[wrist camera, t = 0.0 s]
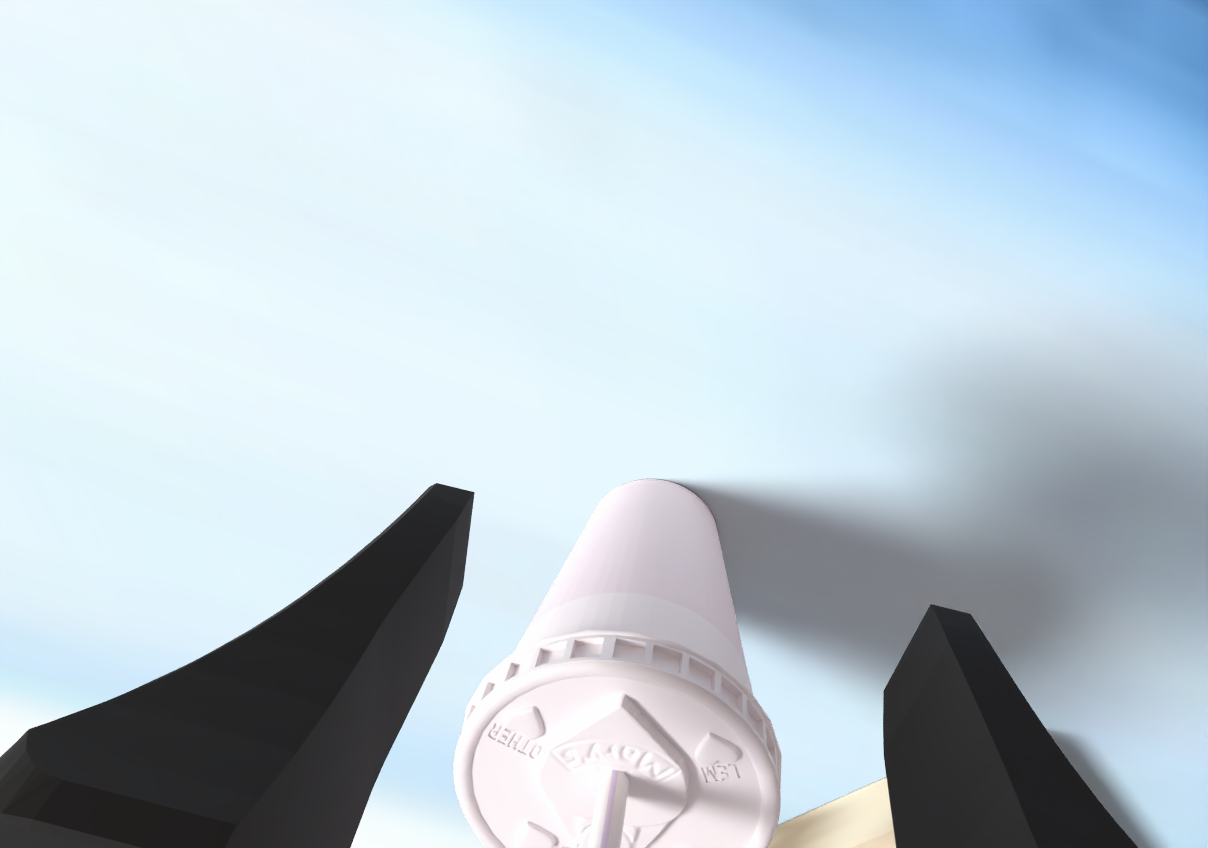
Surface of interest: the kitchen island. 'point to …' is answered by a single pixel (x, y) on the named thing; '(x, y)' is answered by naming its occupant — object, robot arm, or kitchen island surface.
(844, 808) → the base board
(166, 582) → the kitchen island surface
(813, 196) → the kitchen island surface
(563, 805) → the smoothie
